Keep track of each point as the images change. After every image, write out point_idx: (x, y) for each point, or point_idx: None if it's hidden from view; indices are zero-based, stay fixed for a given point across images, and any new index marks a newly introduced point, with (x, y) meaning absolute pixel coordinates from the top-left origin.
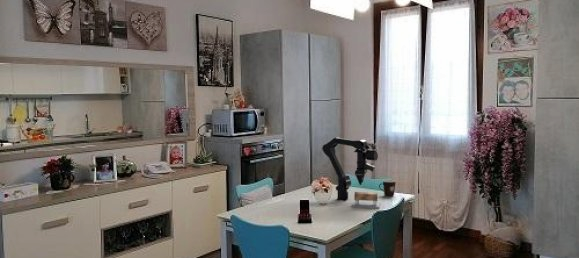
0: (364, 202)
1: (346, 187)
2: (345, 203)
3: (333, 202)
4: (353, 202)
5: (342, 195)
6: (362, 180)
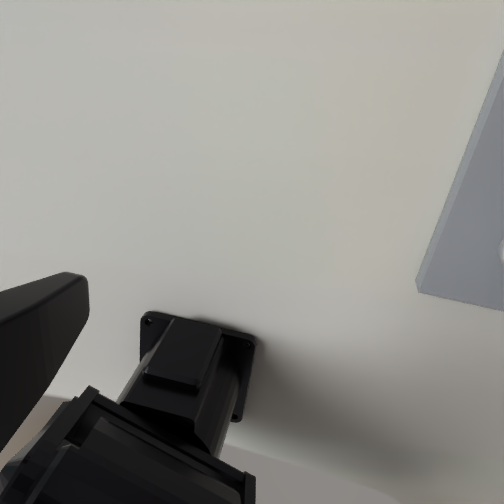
0: (498, 136)
1: (212, 479)
2: (418, 365)
3: (361, 458)
4: (471, 296)
5: (231, 411)
6: (51, 320)
